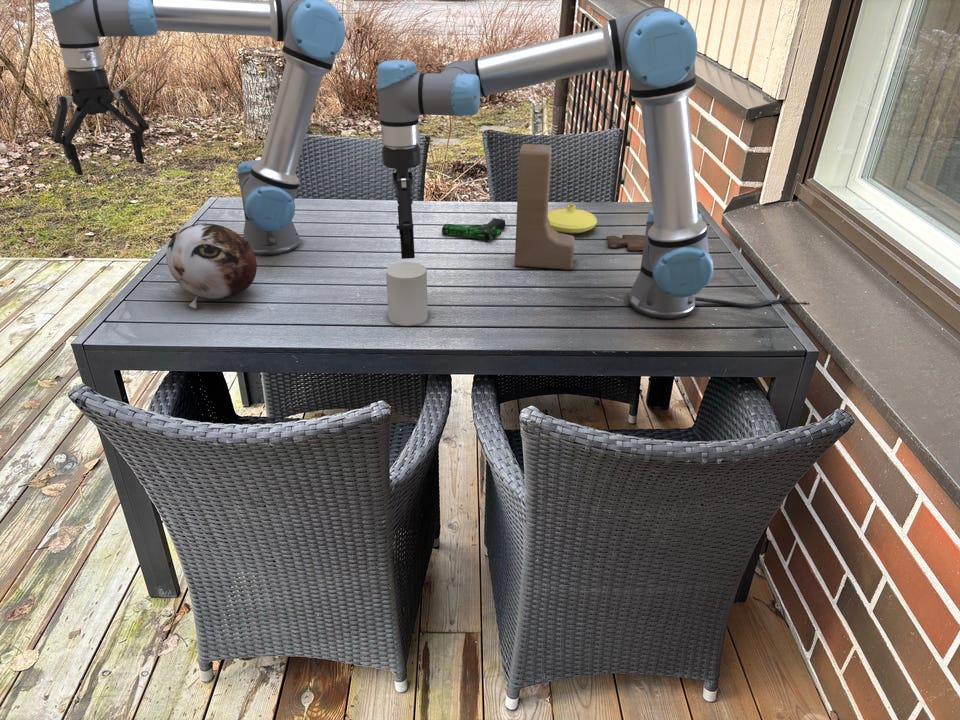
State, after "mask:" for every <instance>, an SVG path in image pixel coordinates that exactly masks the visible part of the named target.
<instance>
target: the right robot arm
mask: <svg viewBox="0 0 960 720" xmlns="http://www.w3.org/2000/svg"><path fill="white" fill-rule="evenodd" d="M697 56H698V38H697V34H696V32H695V30H694V28H693V26H692V24H691V23H690V22H689V20H688V19H686V17H685V16H684V15H682V14H680V13H679V12H676V11H674V10H672V9H670V8H668V7H665V6H659V5H656V6H655V5H654V6H648V7H646V8H643V9H640V10H637V11H634V12H632V13H629V14H626V15H623V16H620V17H616V18H613V19H607V20H606V21H605V23H604V24H603V26H602V27H600V28H596V29H592V30H586V31H583V32H579V33H574V34H570V35H566V36H562V37H557V38H553V39H550V40H546V41H541V42H538V43H532V44H529V45H524V46H521V47H516V48H513V49H512V48H511V49H508V50H504V51H501V52H500V51H499V52H495V53H492V54H491V53H490V54H487V55H484V56H478V57H477V58H472V59H467V60H462V59H459V60H454V61H452V62H449V63H448V64H446V65H445V67H444V68H443V69H442V71H441V72H438V73H437V72H436V73H435V72H432V73H430V72H429V73H428V72H427V73H425V72H418V69H417V64H416V63H415V62H414V61H412V60H405V59H391V60H385V61H381V62H380V63H379V64H378V66H377V68H376V73H377V74H376V75H377V76H376V77H377V79H376V80H377V81H376V82H377V87H376V91H377V98H378V106H379V107H378V110H379V123H380V127H379V128H377V133H378V134H381V135H380V137H381V144H382V145H383V146H382V147H381V153H382V164H383V165H384V167H385V168H388V169H395V172H392V182H393V186H394V192H395V198H397V201H396V203H397V219H398V224H397V225H396V230H397V231H398V233H399V235H398V236H399V239H400V240H399V241H400V257H401V260H408V259H416V254H415V238H414V237H415V234H414V227H415V226H414V222H413V207H412V205H413V198H412V197H413V184H414V177H413V171H409V169H411V168H413V169H414V168H416V167H418V166H419V165H420V164H421V147H420V145H419V144H420V142H421V136H420V121H419V115H422V116H427V115H428V116H455V117H456V116H457V117H463V116H464V117H465V116H475V115H477V114H478V113H479V110H480V105H481V98H483V97H488V96H491V95H496V94H500V93H504V92H509V91H513V90H518V89H523V88H527V87H532V86H536V85H540V84H545V83H549V82H554V81H558V80H562V79H567V78H572V77H575V76H580V75H581V76H582V75H585V74H589V73H593V72H598V71H603V70H609V71H611V72H612V73H618V72H623V71H628V79H629V86H630V87H629V88H630V94H631V95H630V96H631V99H633V100H634V101H636V102H637V103H638V104H639V105H640V108H641V117H642V126H643V127H642V128H643V136H644V145H645V153H646V154H645V155H646V163H647V171H648V172H647V173H648V180H649V188H650V189H649V191H650V197H651V198H650V199H651V207H652V209H651V210H650V211H649V212H648V215H647V219H646V222H645V225H646V227H645V228H646V229H645V234H644V235H645V241H644V248H643V250H642V255H641V262H640V263H641V264H640V269H639V273H638V275H637V276H636V279H635V281H634V282H633V285H632V287H631V288H630V291H629V293H628V299H627V303H628V305H629V307H630V308H631V309H633V310H634V311H635V312H637V313H639V314H641V315H643V316H647V317H650V318H655V319H660V320H661V319H662V320H675V319H681V318H686V317H688V316H690V315H691V314H692V313H693V312H694V311H695V307H696V302H701V303H711V304H718V305H726V306H732V307H738V308H760V307H764V306H767V305H769V304H774V303H775V304H776V303H782V302H788V301H789V302H790V301H791V300H790V298H789V297H790V296H785V297H780V298H779V297H778V298H777V299H778V300H772V301H770V300H771V299H768V300H765V301H761V302H755V303H745V302H744V303H743V302H736V301H731V300H730V301H729V300H722V299H715V298H707V297H699V296H698V297H697V296H695V295H697V294H699V293H700V292H702V291H704V289H705V288H706V287H707V286H708V285H709V283H710V282H711V281H712V279H713V275H714V260H713V258H712V256H711V255H710V250H709V249H710V248H709V237H708V236H709V235H708V225H707V223H706V221H704V220H703V215H702V214H701V212H699V211H698V200H697V199H698V198H697V188H696V187H697V186H696V174H695V162H694V161H695V160H694V150H693V137H692V127H691V125H692V124H691V112H690V99H689V97H690V94H691V93H692V91H693V90H694V89H695V87H696V86H697V79H696V78H697V77H696V65H695V63H696V59H697Z"/></svg>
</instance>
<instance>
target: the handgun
mask: <svg viewBox="0 0 960 720" xmlns="http://www.w3.org/2000/svg"><path fill="white" fill-rule="evenodd" d="M505 228H506V220H505V219H503V218H497V217H492V219H491V220H490V221H489V222H488V223H483V224H482V225H479V224H472V225H459V224H453V223H445V224H443V226H442V227H441V235H446V236H454V237H462V238H469V239H470V238H471V239H474V240H479V241H484V242H491V241H492V240H494V239H495V238H497V237H500V236H502V230H504V229H505Z"/></svg>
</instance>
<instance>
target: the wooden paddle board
mask: <svg viewBox="0 0 960 720" xmlns="http://www.w3.org/2000/svg"><path fill="white" fill-rule="evenodd" d="M605 238H606V243H607V246H608V248H609V249H618V248H623V247H626V248H627V250H628V251H643V248H644V241H645V234H622V237H619V236H617V235H607V236H606V237H605Z"/></svg>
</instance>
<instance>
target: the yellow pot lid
mask: <svg viewBox="0 0 960 720" xmlns="http://www.w3.org/2000/svg"><path fill="white" fill-rule="evenodd" d="M547 216H548V219H549V222H550V225H551V228H553V229H554V230H555V231H557V232H558V233H562V234H580V233H584V232H585V233H586V232H587V231H591V230H592V229H594V228H596V226H597V223H598V219H597V217H596V215H595V214H593V213H591V212H589V211H587V210H584V209H578V208H576V205H575V204H571V203H570V204H567V208H557V209H552V210H548V215H547Z"/></svg>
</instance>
